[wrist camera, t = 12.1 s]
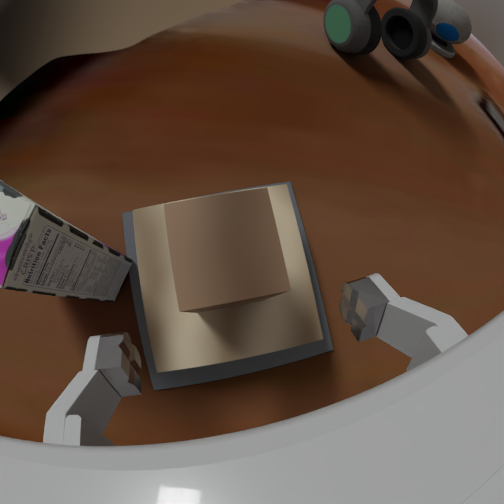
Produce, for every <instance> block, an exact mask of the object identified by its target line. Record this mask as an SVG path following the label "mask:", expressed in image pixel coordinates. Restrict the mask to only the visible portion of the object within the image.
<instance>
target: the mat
mask: <svg viewBox="0 0 504 504" xmlns="http://www.w3.org/2000/svg"><path fill="white" fill-rule="evenodd" d="M283 184H287V187H288V191H289V194H290V198H291V202H292V206H293V209H294V213H295V217H296V221H297V225H298V229H299V233H300V237H301V241H302V245H303V249H304V253H305V258H306V262H307V266H308V270H309V275H310V279H311V284H312V288H313V293H314V297H315V302H316V306H317V311H318V316H319V321H320V326H321V331H322V336H323V339H322V340H318V341H315V342H311V343H307V344H303V345H300V346H296V347H292V348H288V349H284V350H279V351H275V352H271V353H267V354H262V355H258V356H253V357H248V358H243V359H238V360H233V361H228V362H223V363H217V364H212V365H206V366H200V367H193V368H187V369H180V370H173V371H165V372H157V370H156V366H155V361H154V357H153V352H152V347H151V343H150V338H149V333H148V327H147V322H146V316H145V311H144V305H143V298H142V292H141V285H140V278H139V270H138V262H137V254H136V244H135V234H134V222H133V211H130V212H126V213H122V214H123V226H124V236H125V246H126V254H127V257H128V258H130V259H132V260H133V263H132V265H131V267H130V269H129V276H130V283H131V289H132V295H133V301H134V307H135V312H136V317H137V322H138V327H139V332H140V337H141V341H142V346H143V350H144V355H145V359H146V363H147V367H148V371H149V374H150V378H151V382H152V386H153V389H154V390H160V389H167V388H174V387H181V386H187V385H193V384H199V383H205V382H210V381H215V380H220V379H225V378H230V377H235V376H239V375H244V374H248V373H252V372H257V371H261V370H265V369H269V368H273V367H277V366H280V365H284V364H288V363H291V362H295V361H298V360H302V359H305V358H309V357H312V356H315V355H319V354H322V353H325V352H328V351H331V350H333V346H332V341H331V336H330V332H329V327H328V323H327V318H326V314H325V310H324V305H323V301H322V297H321V293H320V289H319V285H318V280H317V276H316V273H315V269H314V265H313V261H312V257H311V253H310V249H309V246H308V242H307V238H306V235H305V231H304V227H303V224H302V220H301V217H300V213H299V210H298V206H297V203H296V199H295V196H294V192H293V189H292V186H291V183H290V182H283V183H276V184H270V185H263V186H257V187H251V188H244V189H239V190H233V191H240V190H247V189H253V188H261V187H268V186H275V185H283ZM233 191H227V192H233ZM227 192H221V193H227ZM221 193H216V194H221ZM211 195H214V194H211ZM205 196H208V195H205ZM200 197H203V196H200ZM195 198H197V197H195ZM190 199H191V198H190ZM185 200H186V199H185Z"/></svg>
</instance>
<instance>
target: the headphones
mask: <svg viewBox="0 0 504 504" xmlns="http://www.w3.org/2000/svg"><path fill="white" fill-rule="evenodd" d="M376 1H377V0H333V1H331V2H330V3H329V4H328V6H327V8H326V10H325V13H324V29H325V33H326V35H327V38H328V40H329V41H330V43H331V44H332V45H333V46H334V47H335V48H337V49H338V50H340V51H342V52H346V53H352V54H355V55H365V54H368V53H370V52H372V51H373V50H374V49H375V48H376V47H377V46H378V44H379V42H380V39H381V37H382V40H383V43H384V45H385V47H386V48H387V49H388V51H389V52H391V53H392V54H393V55H395V56H396V57H398V58H402V59H417V58H421V57H423V56H424V55H426V54H427V52H428V51H429V49H430V47H431V43H432V35H431V31H430V28H429V26H430V24H431V23H432V21H433V19H434V17H435V15H436V12H437V8H438V0H413V1H412V4H411V6H410V8H409V10H408V9H405V8H400V7H398V8H393V9H390V10H388V11H387V12H386V13H385V14H384V16H383V18H382V20H380V17H379V14H378V12H377V11H376V9H375V7H374V6H373V5H374V3H375V2H376Z"/></svg>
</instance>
